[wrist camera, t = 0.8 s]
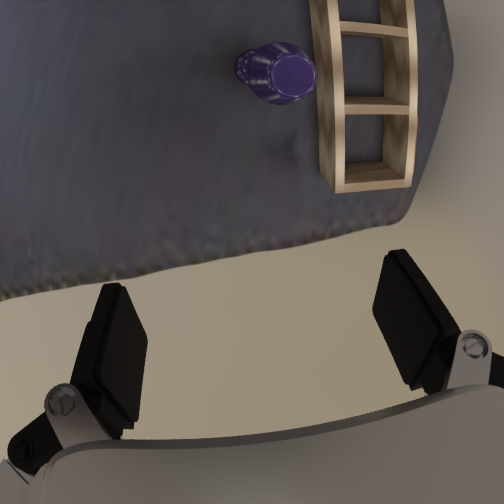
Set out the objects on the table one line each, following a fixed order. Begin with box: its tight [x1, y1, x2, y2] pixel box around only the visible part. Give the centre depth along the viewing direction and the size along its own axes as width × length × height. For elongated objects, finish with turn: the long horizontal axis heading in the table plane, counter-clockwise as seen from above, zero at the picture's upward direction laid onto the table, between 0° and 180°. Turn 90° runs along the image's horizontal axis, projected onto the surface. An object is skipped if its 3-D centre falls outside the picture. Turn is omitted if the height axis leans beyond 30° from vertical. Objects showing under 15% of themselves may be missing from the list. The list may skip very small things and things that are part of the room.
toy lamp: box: [235, 42, 317, 105], centre depth 23 cm, size 5×5×17 cm
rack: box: [309, 0, 418, 194], centre depth 28 cm, size 26×10×6 cm, turn 6°
